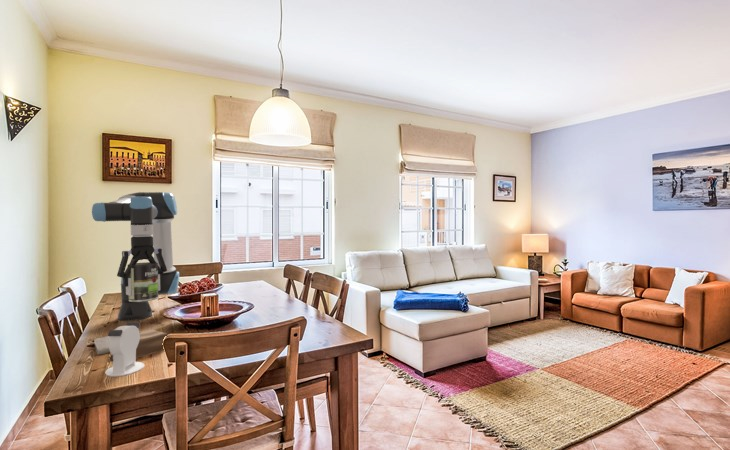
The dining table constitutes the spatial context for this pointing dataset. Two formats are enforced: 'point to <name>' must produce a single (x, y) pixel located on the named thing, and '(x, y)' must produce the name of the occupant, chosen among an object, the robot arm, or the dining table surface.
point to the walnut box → (150, 342)
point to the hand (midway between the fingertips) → (143, 292)
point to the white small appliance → (124, 350)
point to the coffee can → (144, 282)
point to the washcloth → (102, 345)
